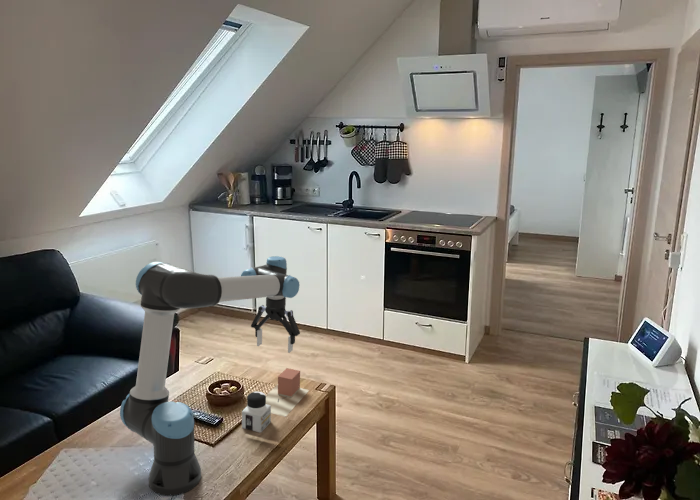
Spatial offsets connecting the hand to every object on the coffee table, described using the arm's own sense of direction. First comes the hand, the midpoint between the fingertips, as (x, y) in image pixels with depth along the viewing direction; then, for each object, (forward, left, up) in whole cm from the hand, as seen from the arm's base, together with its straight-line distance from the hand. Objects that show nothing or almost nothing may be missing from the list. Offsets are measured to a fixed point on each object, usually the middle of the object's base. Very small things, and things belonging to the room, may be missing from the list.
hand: (274, 348), depth 210 cm
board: (-5, -2, -21) cm, 21 cm away
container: (-20, +11, -21) cm, 31 cm away
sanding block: (0, -6, -20) cm, 20 cm away
